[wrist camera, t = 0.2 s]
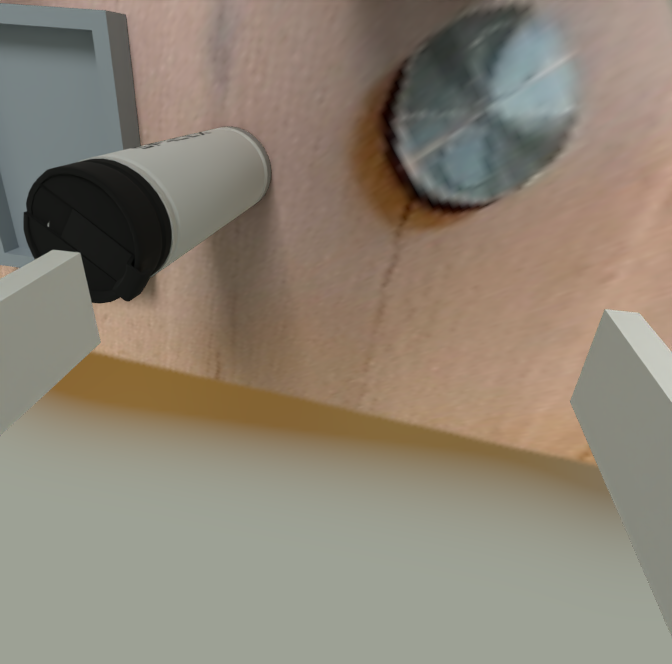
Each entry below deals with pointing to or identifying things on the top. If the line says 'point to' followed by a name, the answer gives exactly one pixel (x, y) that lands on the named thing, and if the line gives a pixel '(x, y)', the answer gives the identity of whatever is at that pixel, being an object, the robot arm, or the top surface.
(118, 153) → the travel mug
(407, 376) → the top surface
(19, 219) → the tray
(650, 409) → the robot arm
